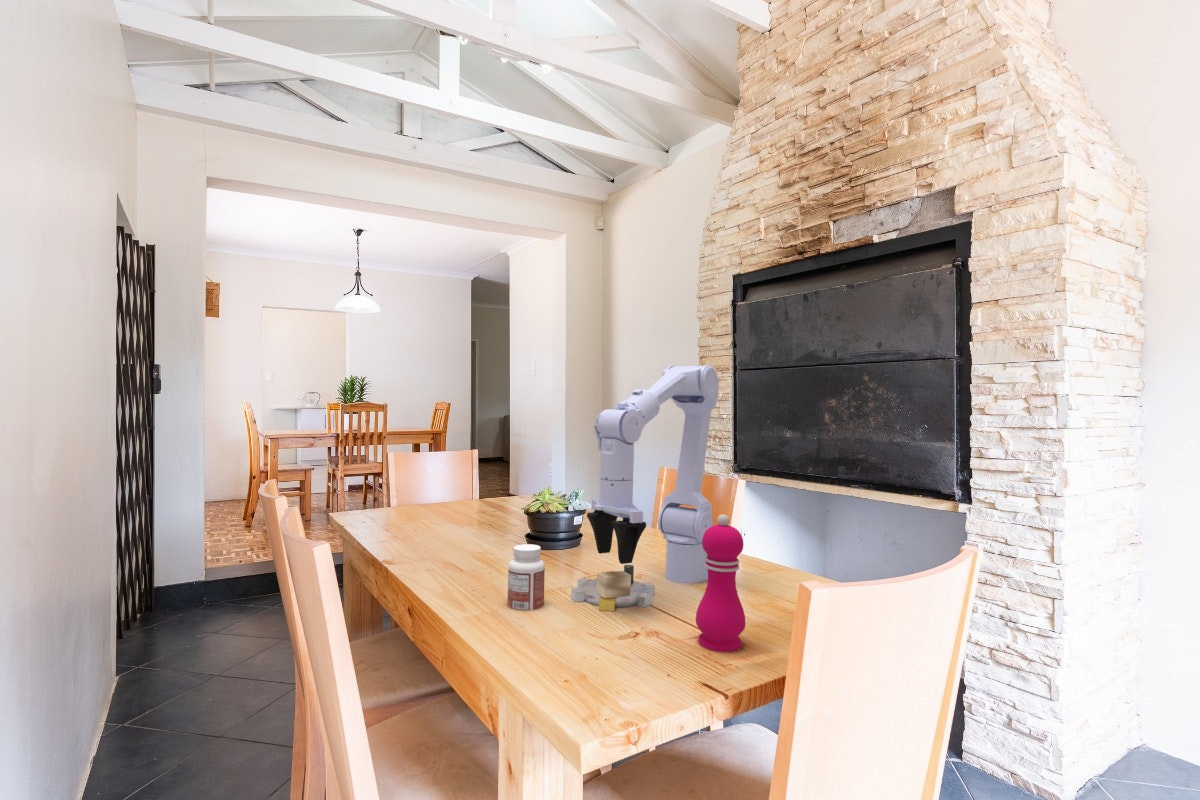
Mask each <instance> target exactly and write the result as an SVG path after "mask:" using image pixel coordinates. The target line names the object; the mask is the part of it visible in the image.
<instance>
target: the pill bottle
mask: <svg viewBox="0 0 1200 800" xmlns="http://www.w3.org/2000/svg"><path fill="white" fill-rule="evenodd" d="M512 548H513V549H512V550H513V551H512V556H513V557H514V558H513V559H511V560H510V561H509V563H508V570H507V572H508V575H507V577H508V578H507V606H508V608H510V609H512V610H516V611H535V610H539V609H541V608H543V607H544V606H545V569H546V568H545V567H546V566H545V562H544V561H543V560H542V559H541V558H540V557H541V554H542V548H541V546H540V545H538V544H532V543H531V544H530V543H525V544H523V543H522V544H517V545H515V546H513V547H512Z"/></svg>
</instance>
